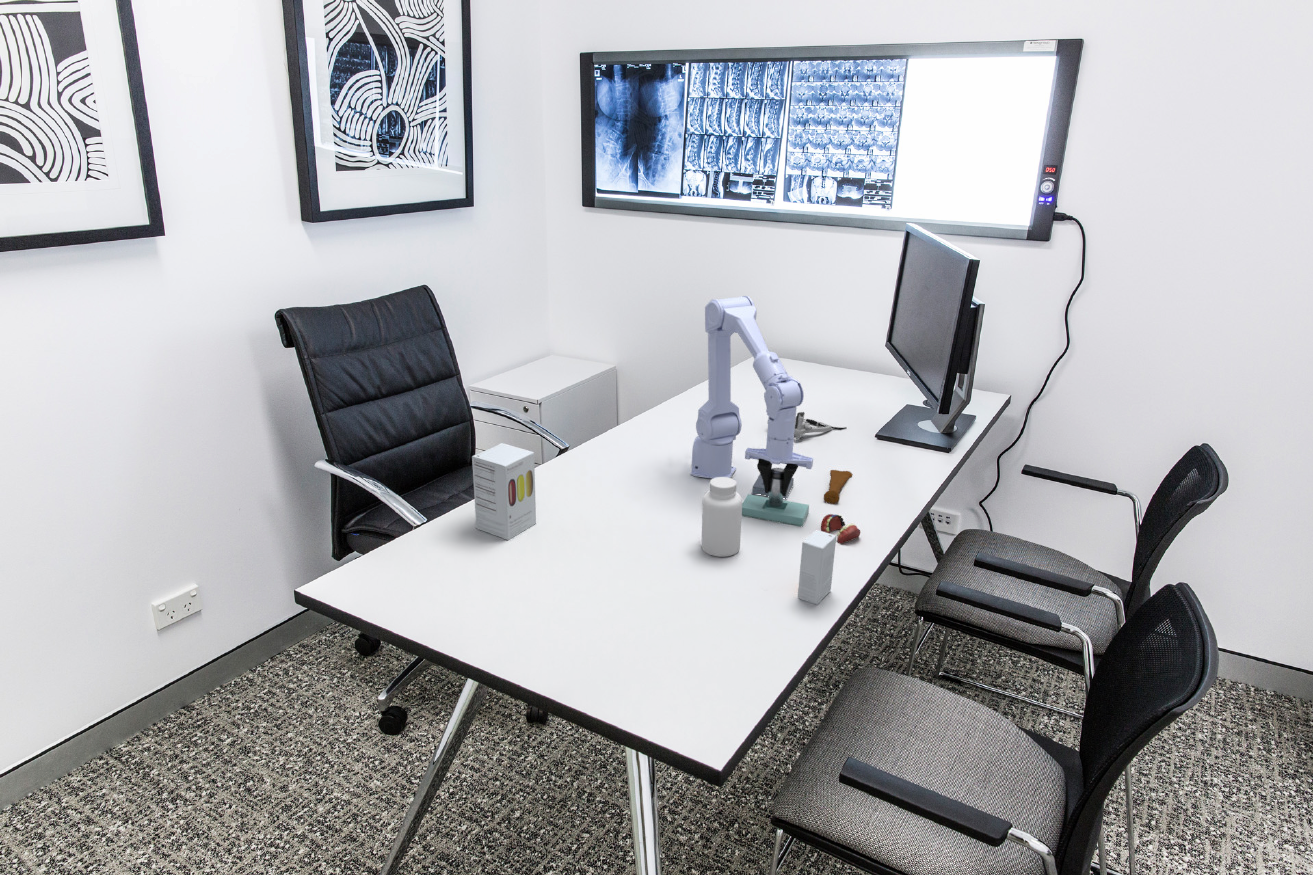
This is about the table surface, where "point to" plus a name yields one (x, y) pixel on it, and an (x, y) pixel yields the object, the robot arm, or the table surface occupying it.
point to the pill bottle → (721, 518)
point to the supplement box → (504, 490)
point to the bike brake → (806, 428)
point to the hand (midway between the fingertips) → (775, 492)
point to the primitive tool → (836, 485)
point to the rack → (775, 510)
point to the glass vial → (776, 487)
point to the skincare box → (816, 566)
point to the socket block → (759, 488)
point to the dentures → (836, 522)
